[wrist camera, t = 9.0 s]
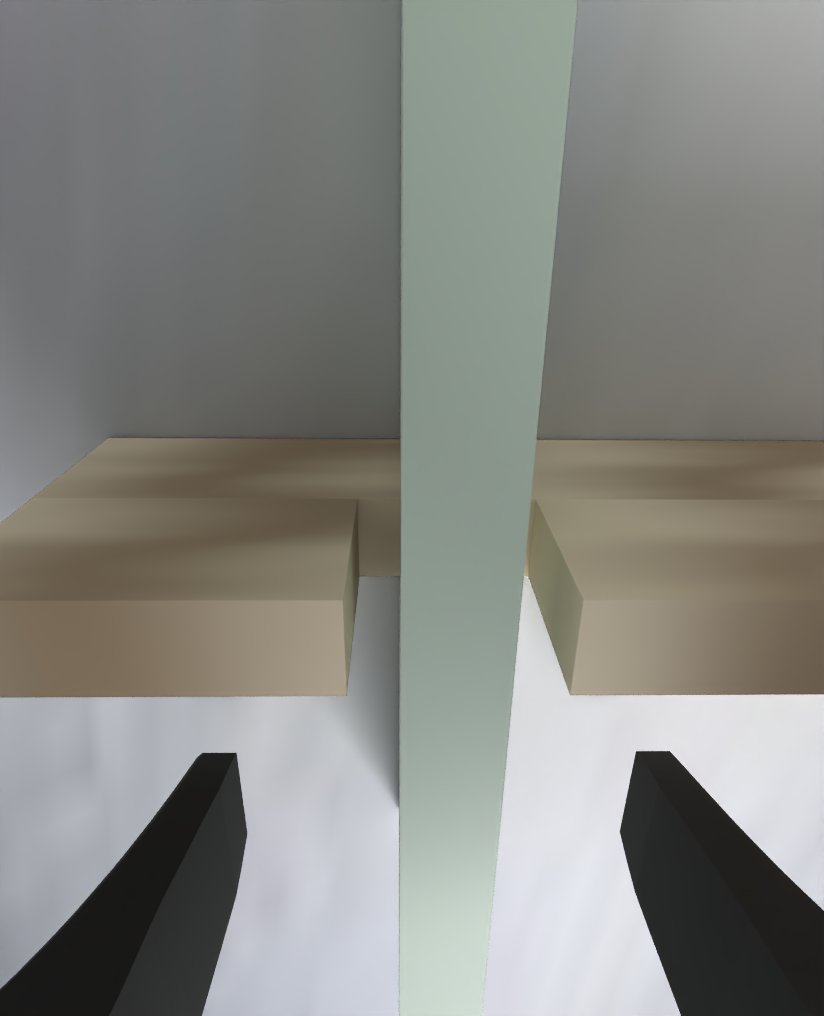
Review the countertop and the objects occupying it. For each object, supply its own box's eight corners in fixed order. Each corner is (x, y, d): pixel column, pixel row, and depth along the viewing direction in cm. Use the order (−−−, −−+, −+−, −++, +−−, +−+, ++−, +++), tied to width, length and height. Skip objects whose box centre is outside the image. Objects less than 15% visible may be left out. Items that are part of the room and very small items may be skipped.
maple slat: (1271, 442, 11) (1853, 599, 7) (1233, 505, 12) (1753, 690, 7) (108, 438, 11) (-98, 600, 6) (121, 503, 11) (-63, 696, 7)
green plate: (451, 810, 15) (476, 1080, 10) (399, 811, 15) (399, 1081, 10) (499, -120, 8) (629, -542, 4) (401, -121, 8) (406, -553, 3)
